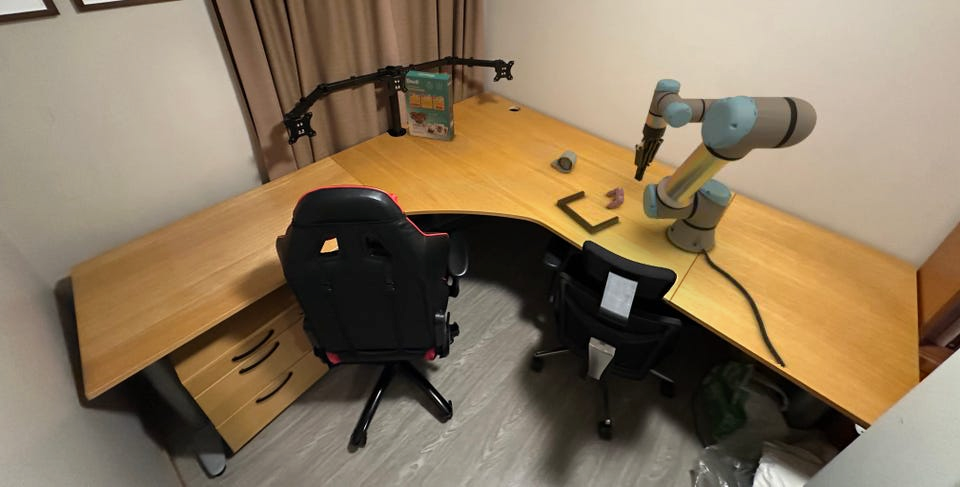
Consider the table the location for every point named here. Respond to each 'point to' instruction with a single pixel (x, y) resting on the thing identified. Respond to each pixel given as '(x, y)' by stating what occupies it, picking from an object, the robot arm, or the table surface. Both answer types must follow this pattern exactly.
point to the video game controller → (616, 197)
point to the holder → (578, 218)
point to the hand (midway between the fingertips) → (637, 179)
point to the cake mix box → (430, 105)
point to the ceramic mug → (565, 161)
